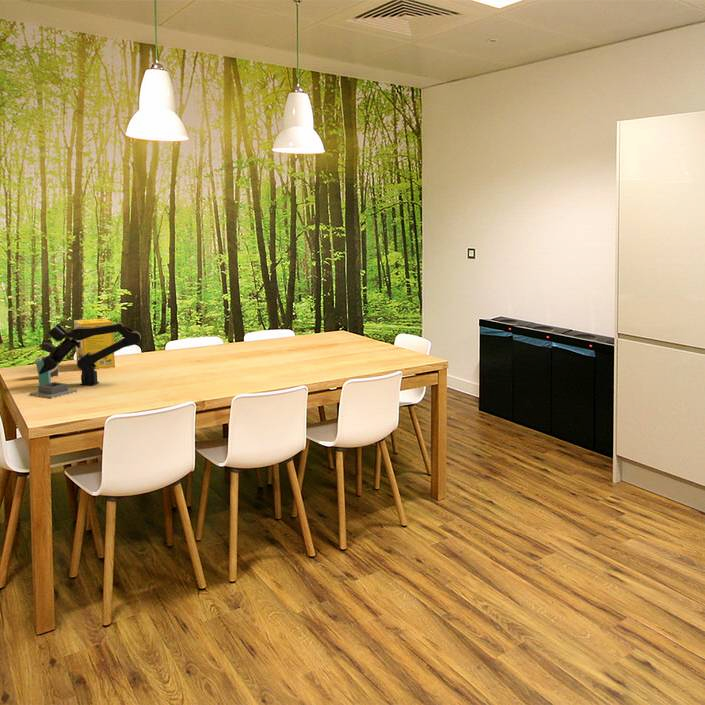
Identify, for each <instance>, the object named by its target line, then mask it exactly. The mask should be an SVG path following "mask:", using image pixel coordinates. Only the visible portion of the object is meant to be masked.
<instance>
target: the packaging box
mask: <svg viewBox="0 0 705 705" xmlns="http://www.w3.org/2000/svg"><path fill="white" fill-rule="evenodd" d="M112 324H113V321H111V320H109V319H107V318H105V317H103V318H92V319H90V318H89V319H75V320H73V327H74V328H73V330H75V329H76V328H77V327H99V326H105V325H112ZM76 341H77V342H81V347H80V348H78V347H77V346H75V357H76V363H77V362H78V360H79V359H80V357H81V356H82V355H85V354H87V353H88V352H90V354H93V353H96V352H98V351H100V350H102V349H104V348H106V347H108V346H110V345H112V344H114V343H115V342H114V332H113V333H107V334H101V335H94V336H91V337H88V338H86V339H83V340H76ZM94 364H95V365H96V369H95V370H101V369H100V368H105V369H111V368H110V367H114V368H116V363H115V352H114V353H112V354H110V355H108V356H106V357H104V358H102V359H100V360H98V361H97V362H95V363H94Z"/></svg>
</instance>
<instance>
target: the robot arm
mask: <svg viewBox="0 0 705 705" xmlns="http://www.w3.org/2000/svg"><path fill="white" fill-rule="evenodd" d="M107 333H113V334H114V333H119V334H120V335H121V336H122V337H123V338H121V339H120V340H118V341H116V342H114V344H112V345H110V346H108V347H106V348H104V349H102V350H100V351H98V352H96V353H93V354H90V352H88V353H87V354H85V355H82V356H81V357H80V359H79V360H78V362H77V361H76V366H77V368H78V369H79V370H81V374H80V380H81V383H80V385H81V386H95V385H97V384H99V383H100V381H98V371H97V369H96V365H95V364H94V363H95V362H97V361H98V360H100V359H102V358H104V357H106V356H108V355H110V354H112V353H114V354H115V353H117V351H120V350H122V349H124V348H127V347H131V346H135V345H137V344H139V343H140V341H141V338H142V335H141V332H139V331H137V330H133V329H132V328H130V327H129V326H126V325H125V324H123V323H121V322H117V323H112V325H105V326H99V327H77V328H76V329H71V330H70V329H69V330H66V329H65V328H64V327H63V326H62V325H61V324H60V323H58V324H56V325H55V326H54V327H52V329H51V330H50V331H48V333H47V335H48V336H50V337H51V338H52V339H53V340H54V341H56V342H60V344H58V345H57V346H56V345H53V344H51V343H49V342H46V341H45V342H42V345H41V347H40V350H41V351H45V352H47V353H49V354H48V355H46V356H47V357H46V358H45V359H44V360H43V361H44V365H43V367H42V369H41V370H40V372H39V374H43V373H45V372H47V371H50V370H52V369H54V368H55V367H56V366H57V365H58V366H59V364H60V363H62V361H64V360H65V358H66V357H67V356H68V355H69V354H70V353H71V351H73V349H74V348H76V346H77V347H78V348H80V347H81V342H77V341H76V340H83V339H86V338H88V337H91V336H94V335H101V334H107Z"/></svg>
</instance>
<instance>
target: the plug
mask: <svg viewBox="0 0 705 705" xmlns="http://www.w3.org/2000/svg"><path fill="white" fill-rule="evenodd" d="M41 357H42V360H38V361H37V365H38V371H37V375H38V386H39V385H43V384H48V383H52V379H51V378H52V377H50V371H47V372H45V373H43V374H39V372H40V370H41V369H42V367H43V365H44V361H43V360H44V357H45V356H41ZM37 365H36V366H37Z"/></svg>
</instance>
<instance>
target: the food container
mask: <svg viewBox="0 0 705 705" xmlns="http://www.w3.org/2000/svg"><path fill="white" fill-rule="evenodd" d="M47 356H48V355H46V356H40V357H36V358H35V360H34V364H35V365H36V369H37V370H36V371H37V372H38V365H37V361H38V360H42V357H44V359H45V358H46V357H47ZM53 376H56V377H59V364H58V365H57V366H56V367H55V368H54V369H52V370H50V377H51V378H54V377H53Z"/></svg>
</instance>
